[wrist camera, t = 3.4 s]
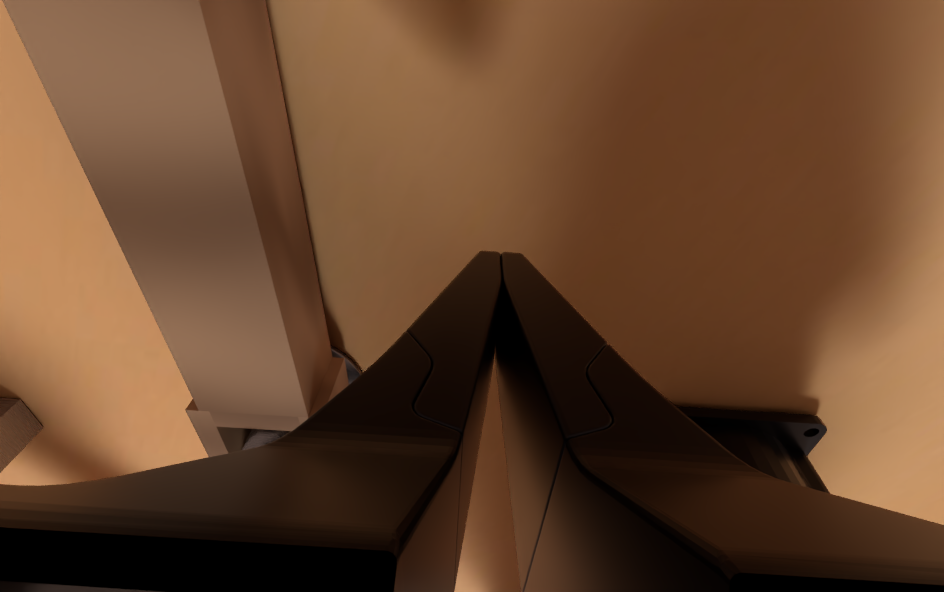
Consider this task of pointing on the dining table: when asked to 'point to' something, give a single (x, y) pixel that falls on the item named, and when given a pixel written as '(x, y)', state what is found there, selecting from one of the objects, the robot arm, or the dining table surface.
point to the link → (197, 194)
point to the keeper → (15, 429)
